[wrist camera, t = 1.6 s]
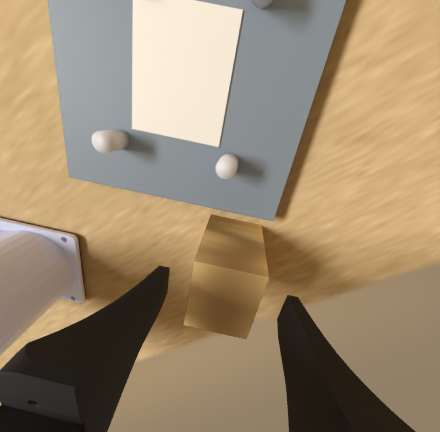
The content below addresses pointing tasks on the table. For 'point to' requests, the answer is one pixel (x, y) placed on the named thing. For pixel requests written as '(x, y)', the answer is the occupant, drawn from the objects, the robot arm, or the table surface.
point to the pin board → (190, 94)
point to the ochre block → (227, 278)
